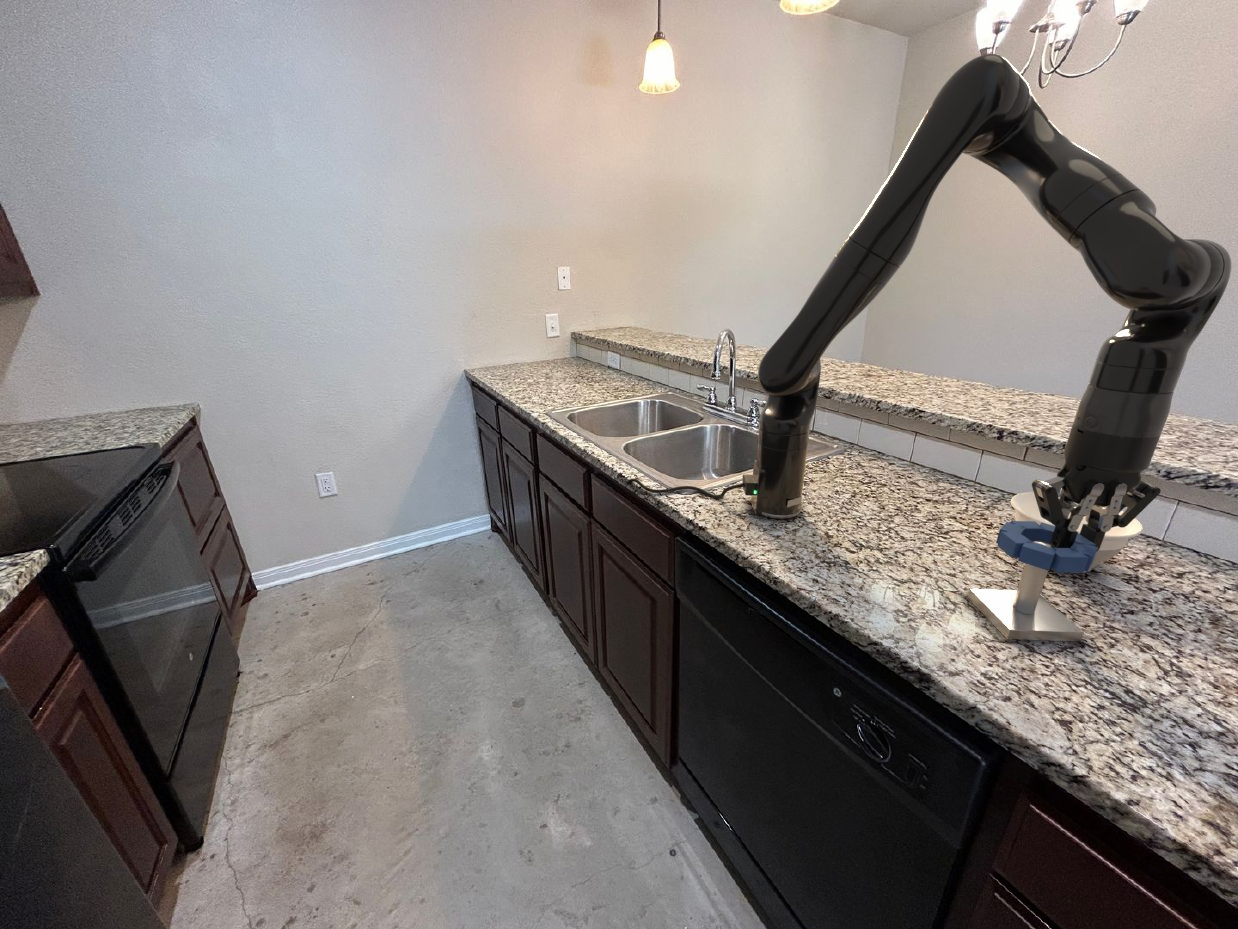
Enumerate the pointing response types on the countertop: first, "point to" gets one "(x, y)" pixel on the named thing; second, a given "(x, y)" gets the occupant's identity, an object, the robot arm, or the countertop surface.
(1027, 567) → the metal peg stand
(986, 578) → the countertop surface
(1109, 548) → the bowl
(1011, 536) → the ring
